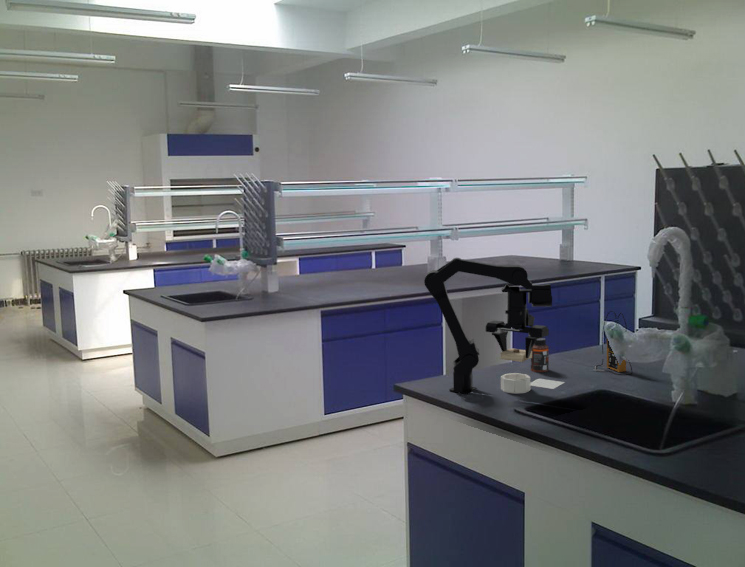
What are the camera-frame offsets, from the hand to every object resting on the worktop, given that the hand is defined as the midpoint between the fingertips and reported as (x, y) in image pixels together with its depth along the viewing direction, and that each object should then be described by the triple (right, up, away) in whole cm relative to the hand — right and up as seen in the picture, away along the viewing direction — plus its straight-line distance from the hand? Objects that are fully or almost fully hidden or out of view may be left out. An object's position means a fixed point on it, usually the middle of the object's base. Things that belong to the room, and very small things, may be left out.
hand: (516, 356), depth 224 cm
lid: (0, -1, 0) cm, 0 cm away
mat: (+11, -10, +7) cm, 16 cm away
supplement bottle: (+13, -8, +24) cm, 28 cm away
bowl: (0, -11, +1) cm, 11 cm away
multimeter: (+35, -7, +22) cm, 42 cm away
